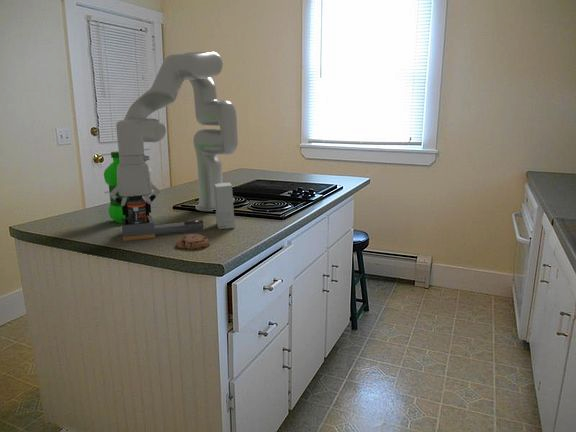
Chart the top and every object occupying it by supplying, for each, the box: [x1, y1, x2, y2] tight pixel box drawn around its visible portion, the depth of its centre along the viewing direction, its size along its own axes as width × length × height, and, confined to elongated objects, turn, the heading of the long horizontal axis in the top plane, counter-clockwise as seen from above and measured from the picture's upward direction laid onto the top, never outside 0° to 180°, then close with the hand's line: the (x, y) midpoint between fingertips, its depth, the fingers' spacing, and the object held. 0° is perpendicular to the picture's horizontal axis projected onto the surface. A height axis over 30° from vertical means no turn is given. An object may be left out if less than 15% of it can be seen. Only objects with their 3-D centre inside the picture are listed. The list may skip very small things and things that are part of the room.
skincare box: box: [214, 182, 236, 230], centre depth 159 cm, size 8×6×15 cm
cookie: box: [175, 233, 210, 251], centre depth 140 cm, size 10×11×3 cm
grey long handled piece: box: [121, 215, 204, 242], centre depth 152 cm, size 26×10×5 cm, turn 111°
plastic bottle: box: [103, 150, 129, 224], centre depth 165 cm, size 10×10×25 cm
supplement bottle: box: [127, 196, 147, 224], centre depth 148 cm, size 6×6×11 cm
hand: (137, 215), depth 149 cm, fingers closed on supplement bottle, 6 cm apart
